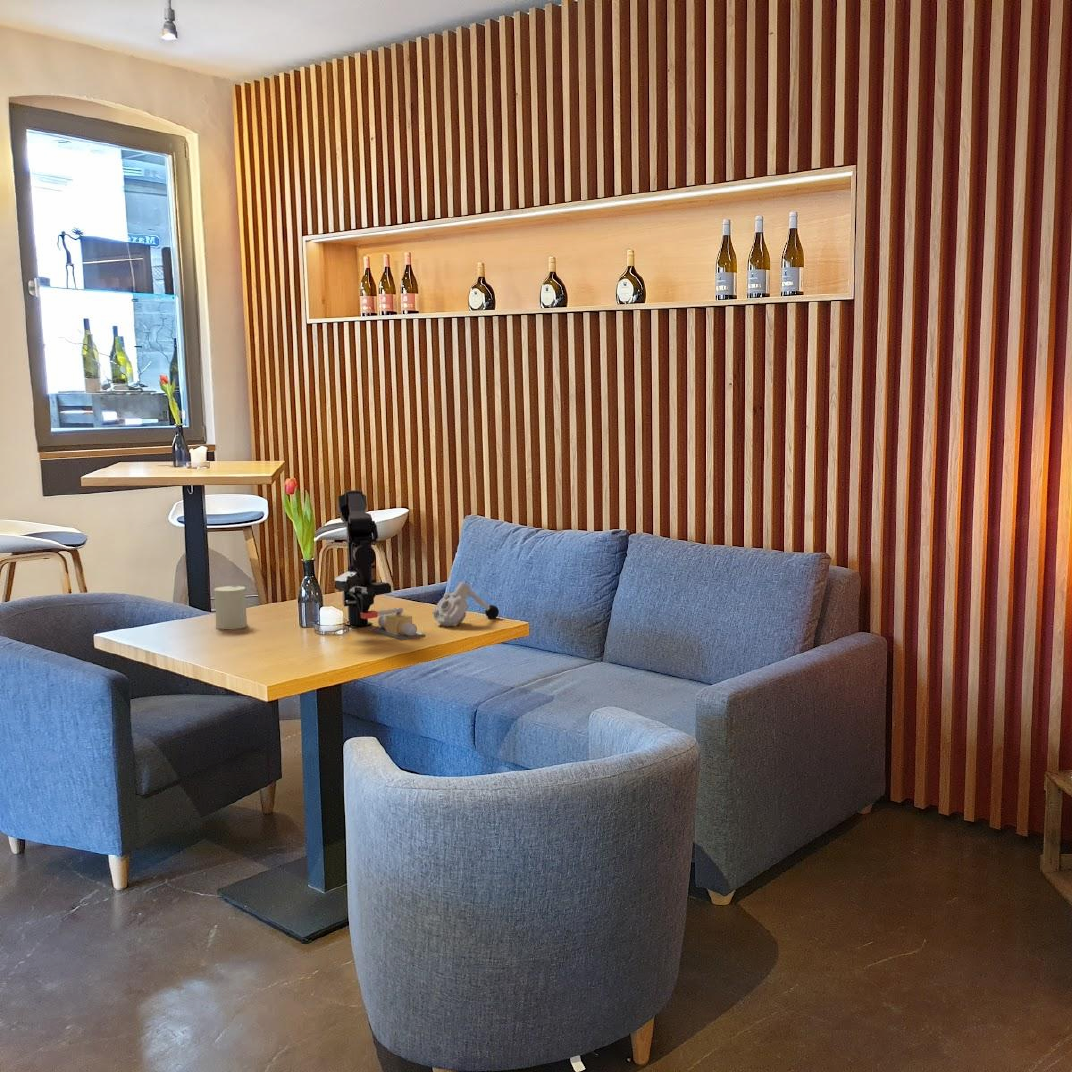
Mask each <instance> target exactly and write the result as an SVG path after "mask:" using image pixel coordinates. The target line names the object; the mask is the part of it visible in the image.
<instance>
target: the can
mask: <svg viewBox="0 0 1072 1072" xmlns="http://www.w3.org/2000/svg"><path fill="white" fill-rule="evenodd" d="M213 591H214V592H213V593H214V607H215V628H216V629H218V630H224V629H229V630H239V629H243V628H247V627H248V619H247V618H248V617H247V597H246V596H247V595H246V594H247V593H246V587H245V586H242V585H227V586H224V585H223V586H219V587H215V588H214V589H213Z"/></svg>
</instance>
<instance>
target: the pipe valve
mask: <svg viewBox="0 0 1072 1072" xmlns="http://www.w3.org/2000/svg"><path fill="white" fill-rule="evenodd" d="M377 625H378V626H379V627H375V628H374V627H373V628H370V631H371V632H374V633H377V634H381V635H383V636H386V637H389V638H392V639H396V640H399V641H403V640H409V639H410V640H411V639H416V638H422V637H426V634H425V633H422V632H418V628H417V625H416V624H415V623H413V616H412V615H410V614H407V613H404V612H402V613H394V614H387V615H380V616H378V620H377Z"/></svg>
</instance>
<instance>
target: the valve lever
mask: <svg viewBox="0 0 1072 1072" xmlns="http://www.w3.org/2000/svg"><path fill="white" fill-rule="evenodd" d="M396 613H404V608H402V607H397V608H391V609H383V610H377V611H376V610H368V611H366V612H361V618H363V619H368V620H369V619H376V618H379V617H380V616H382V615H391V614H396Z"/></svg>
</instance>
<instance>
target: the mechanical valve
mask: <svg viewBox="0 0 1072 1072" xmlns="http://www.w3.org/2000/svg"><path fill="white" fill-rule="evenodd" d="M468 596H469V597H471V598H472V599H473V600H474V601H475V602H476V603H478V604H479V606H481V607H482V608H483V609H484V610H485V611H484V613H485V616H486V617H487V618H488V619H491V618H492V619H491V620H494V619H496V618H497V617H498V616H499V614H500V611H499V608H498V607H497V606H495V605H493V604H491V605H488V604H487V603H486V602H485V601H484V600H482V599H481V598H480V597H479V596H478V595H477V594H476V593H475V592H474V591H473V590H472V588H471V586H470V585H469V584H467V583H466V582H464V581H460V583H459V584H458V585H457V587H456V589H455V590H454V591H453V592H450V593H449V592H447V591H446V592H445V593H444V594H443V597H442V598H440V600H439V601H438V602H437V604H436V606H435V608H434V609H433V610H432V615H433V618H434V620H435V621H436V622H438V623H439V624H440V625H441V626H443V627H448V628H449V627H452V626H453V627H456V626H457V625H459V624H461V623H462V622H463V621H464V620H465V618H466V615H467V610H468V609H469V608H470V607H469V605H468V602H467V598H468ZM493 618H494V619H493Z"/></svg>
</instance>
